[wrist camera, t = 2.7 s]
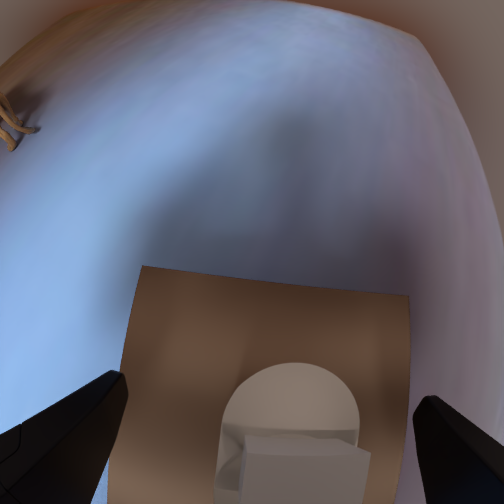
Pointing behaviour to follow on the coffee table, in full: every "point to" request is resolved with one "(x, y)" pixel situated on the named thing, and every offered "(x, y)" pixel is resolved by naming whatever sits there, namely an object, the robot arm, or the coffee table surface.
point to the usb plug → (291, 440)
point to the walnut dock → (248, 374)
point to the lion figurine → (11, 123)
